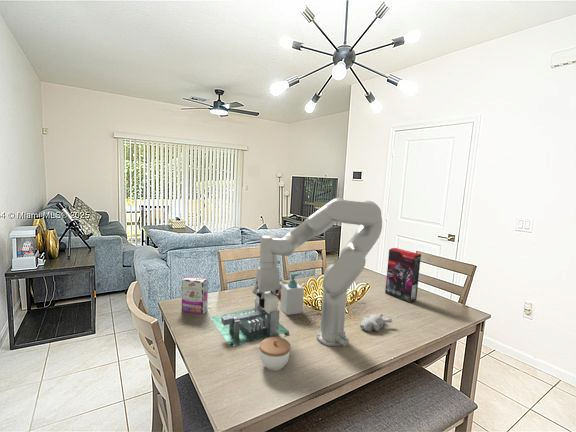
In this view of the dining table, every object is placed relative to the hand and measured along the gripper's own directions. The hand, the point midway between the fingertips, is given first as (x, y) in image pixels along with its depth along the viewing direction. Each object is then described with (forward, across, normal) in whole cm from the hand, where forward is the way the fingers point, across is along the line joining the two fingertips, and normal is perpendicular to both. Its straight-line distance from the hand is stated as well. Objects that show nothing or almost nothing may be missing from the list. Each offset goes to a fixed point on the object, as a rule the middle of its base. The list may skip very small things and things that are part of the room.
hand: (266, 305), depth 130 cm
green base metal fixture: (+11, +6, -6) cm, 13 cm away
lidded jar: (+11, +9, +24) cm, 28 cm away
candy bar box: (+11, +23, -29) cm, 39 cm away
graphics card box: (+11, -87, +1) cm, 88 cm away
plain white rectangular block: (+1, 0, 0) cm, 1 cm away
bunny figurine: (+11, -45, +20) cm, 51 cm away
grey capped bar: (+4, +9, 0) cm, 10 cm away
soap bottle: (+11, -20, -11) cm, 25 cm away
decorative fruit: (+11, -25, -30) cm, 41 cm away
